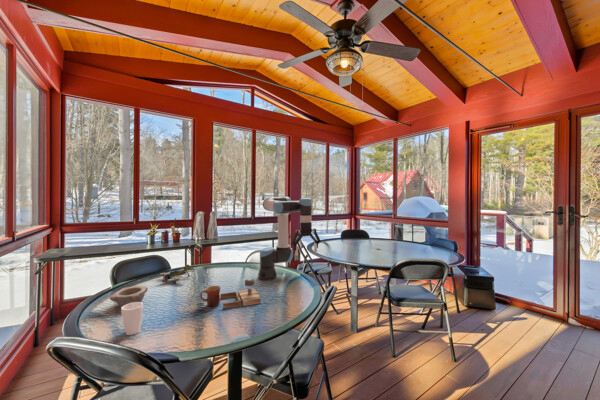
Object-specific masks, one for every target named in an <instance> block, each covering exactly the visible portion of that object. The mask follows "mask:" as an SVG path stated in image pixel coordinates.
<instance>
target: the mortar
mask: <svg viewBox="0 0 600 400" xmlns="http://www.w3.org/2000/svg"><path fill="white" fill-rule="evenodd" d="M148 288H149V287H148V286H146V285H145V286H143V285H142V286H140V285H139V286H138V285H136V286H130V287H129V286H127V287H123V288H121V289H119V290H117V291H116V292H114V293H113V294H112V295H110V297H109V300H110V301H112V302H114V303H117V305H118V306H119V307H120V308H121V307H122V306H124V305H126V304H129V303H134V302H142V301H143V299H144V297H145V294H146V293H147V292H148Z"/></svg>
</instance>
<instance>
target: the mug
mask: <svg viewBox="0 0 600 400" xmlns="http://www.w3.org/2000/svg"><path fill="white" fill-rule="evenodd" d="M220 292H221V286H219V285H211V286H208V287H206V288H205V290H201V292H200V293H199V297H200V299H201V301H202V302H203V301H204V302H206V303H207V306H208V307H211V308H213V307H214V308H215V307H217V306H219V305H220V302H221V299H220V294H221V293H220ZM204 293H205V294H206V298H203V297H202V296H203V294H204Z"/></svg>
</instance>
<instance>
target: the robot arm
mask: <svg viewBox="0 0 600 400" xmlns="http://www.w3.org/2000/svg"><path fill="white" fill-rule="evenodd" d="M291 199H292V198H291V197H289V196H270V197H266V198H265V199H264V200H263V201H262V208H263V209H264V210H265V211H269V212H274V213H275V214H276V216H277V245H276V246H275V247H276V248H274V247H272V246H270V247H264V248H261V249H260V251H259V270H258V273H257V279H259V280H262V281H270V280H274V279H277V277H278V274H277V270H276V267H275V265H276V264H283V263H289V262H291V261H292V260H293V256H296V257H297V256H298V257H299V246H298V244H299V242H300V241H301V239H302V238H303V237H310V238H311V239H312V241H313V242H314V243H313V250H314V251H313V253H314V254H318V248H319V244H320V243H321V242H322V241H321V239H320V236H319V234H318V232H317V229H316V228H315V227H314V228H312V227H313V226H312V225H313V224H312V205H313V204H312V199H311V197H301V198H300V199H299V200H291ZM291 213H299V222H300V223H299V229H295V231H294V232H295V233H294V235H293V238H292V239H291V241H290V244H291V245H292V246H293V248H292V247H291V245H290V244H289V214H291ZM299 233H300V234H299ZM312 233H313V234H314V235H313V234H312ZM293 250H294V251H293Z"/></svg>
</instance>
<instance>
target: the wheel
mask: <svg viewBox="0 0 600 400" xmlns="http://www.w3.org/2000/svg"><path fill="white" fill-rule="evenodd" d="M244 286H246V287H252V286H255V279H253V278H247V279H245V280H244Z"/></svg>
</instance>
